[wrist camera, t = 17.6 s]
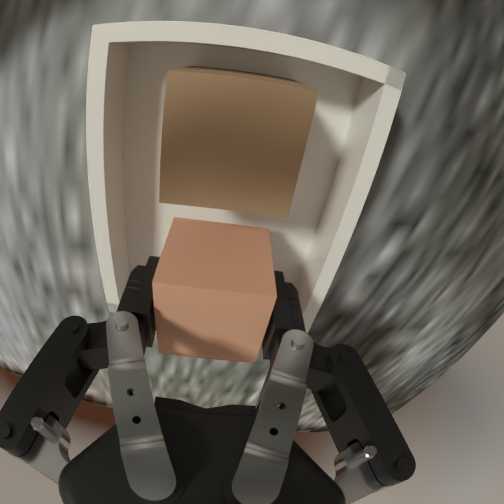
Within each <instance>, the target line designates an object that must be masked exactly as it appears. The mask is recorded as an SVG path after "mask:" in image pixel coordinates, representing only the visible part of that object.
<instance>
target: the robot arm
mask: <svg viewBox="0 0 504 504" xmlns="http://www.w3.org/2000/svg"><path fill="white" fill-rule="evenodd" d="M159 259H160V257H157V256H149V258H148V261H147V264H146V266H142V265H137V266H136V267H135V268H134V269H133V270H132V271H131V273H130V276H129V278H128V281H127V284H126V287H125V289H124V292H123V294H122V297H121V300H120V303H119V305H118V308H117V311H116V312H115V313H113V314H112V315H110V316H109V317H108V319H107V320H106V321H104V322H99V323H89V324H87V322H86V320H85V319H84V318H82V317H80V316H69V317H67V318H65V319H64V320H63V321H62V322H61V323H60V324H59V326H58V327H57V328H56V329H55V331H54V332H53V333H52V335H51V336H50V337H49V339H48V340H47V342H46V343H45V344H44V346H43V347H42V348H41V350H40V351H39V353H38V354H37V355H36V357H35V358H34V360H33V361H32V363H31V364H30V365H29V367H28V368H27V370H26V371H25V373H24V374H23V376H22V377H21V379H20V380H19V382H18V383H17V385H16V387H15V388H14V390H13V391H12V393H11V394H10V396H9V398H8V399H7V401H6V402H5V404H4V406H3V407H2V409H1V411H0V447H1V448H2V449H4V450H6V451H7V452H8V453H9V454H10V455H12V456H14V457H15V458H17V459H19V460H20V461H22V462H24V463H26V464H29V465H30V466H32V467H33V468H34V469H36V470H37V471H39V472H40V473H42V474H43V475H44V476H46V477H47V478H49V479H50V480H52V481H54V482H55V483H57V484H58V485H59V493H60V496H61V498H62V501H63V503H64V504H351V503H353V502H355V501H357V500H359V499H361V498H363V497H365V496H367V495H369V494H371V493H374V492H377V491H380V490H382V489H385V488H388V487H390V486H393V485H395V484H398V483H400V482H403V481H405V480H407V479H409V478H410V477H411V476H412V475H413V473H414V471H415V467H416V463H415V459H414V457H413V455H412V453H411V451H410V449H409V447H408V445H407V443H406V441H405V439H404V438H403V436H402V434H401V432H400V430H399V428H398V426H397V424H396V422H395V420H394V418H393V417H392V414H391V413H390V411H389V409H388V407H387V405H386V403H385V401H384V400H383V398H382V396H381V394H380V392H379V390H378V389H377V387H376V385H375V383H374V381H373V379H372V378H371V376H370V374H369V372H368V370H367V369H366V367H365V365H364V363H363V361H362V360H361V358H360V356H359V354H358V353H357V351H356V350H355V349H354V348H352V347H350V346H348V345H344V344H340V345H337V346H335V347H334V348H333V349H329V348H326V347H323V346H320V345H317V344H316V343H314V342H313V340H312V338H311V337H310V336H309V335H308V334H307V333H306V331H305V325H304V320H303V315H302V310H301V307H300V306H301V305H300V301H299V295H298V291H297V289H296V288H295V286H294V285H293V284H292V283H289V282H285V281H284V275H283V272H282V271H275V270H274V276H275V284H276V292H277V298H276V301H275V304H274V307H273V311H272V314H271V317H270V320H269V323H268V326H267V329H266V332H265V335H264V338H263V341H262V347H263V359H270V368H269V370H268V373H267V376H266V379H265V382H264V385H263V387H262V390H261V393H260V396H259V399H258V401H257V404H256V406H247V405H226V406H220V407H214V408H202V407H199V406H196V405H193V404H190V403H187V402H184V401H181V400H176V399H168V398H161V397H156V398H155V403H154V401H153V396H152V392H151V388H150V383H149V379H148V374H147V370H146V365H145V360H144V354H145V349H146V346H147V347H152V346H153V341H154V336H155V331H156V322H155V312H154V301H153V288H152V281H153V278H154V275H155V271H156V268H157V265H158V262H159ZM103 368H108V375H109V383H110V390H111V397H112V403H113V409H114V414H115V420H116V424H114V425H113V426H112V427H111V428H110V429H109V430H107V431H106V432H105V433H104V434H103V435H101V436H100V437H99V438H98V439H97V440H95V441H94V442H93V443H92V444H91V445H89V446H88V447H87V448H86V449H84V450H83V451H82V452H81V453H80V454H78V455H77V456H76V457H75V458H73V459H72V460H71V461H70V459H69V455H68V450H69V446H70V436H69V434H68V432H67V430H66V428H67V426H68V424H69V422H70V420H71V418H72V417H73V415H74V413H75V411H76V409H77V407H78V406H79V404H80V402H81V400H82V399H83V397H84V395H85V393H86V392H87V390H88V388H89V386H90V385H91V383H92V381H93V380H94V378H95V376H96V375H97V373H98V371H99V369H103ZM307 388H308V389H311V391H312V393H313V396H314V398H315V400H316V402H317V405H318V407H319V409H320V411H321V414H322V416H323V418H324V420H325V423H326V425H327V427H328V429H329V432H330V434H331V436H332V438H333V441H334V443H335V445H336V447H337V450H338V452H339V454H338V455H337V456H336V458H335V461H334V467H335V471H336V476H335V479H334V480H333V479H332V478H330V477H329V476H328V475H327V474H326V473H325V472H324V471H323V470H322V469H321V468H320V467H319V466H318V465H317V464H316V463H315V462H314V461H313V460H312V459H311V458H310V457H309V456H308V455H307V454H306V453H305V452H304V450H303V449H302V448H301V447H300V446H299V445H298V444H297V443H296V442H295V441H294V436H295V432H296V429H297V425H298V421H299V418H300V414H301V410H302V406H303V402H304V398H305V394H306V390H307Z"/></svg>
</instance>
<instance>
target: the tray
mask: <svg viewBox="0 0 504 504" xmlns="http://www.w3.org/2000/svg"><path fill="white" fill-rule="evenodd" d="M187 66H201V67H212V68H222V69H231V70H239V71H246V72H253V73H259V74H265V75H271V76H277V77H282V78H287V79H292V80H295V81H297V82H300V83H302V84H304V85H306V86H308V87H310V88H312V89H314V90H316V91H318V92H319V93H318V98H317V102H316V106H315V110H314V115H313V119H312V123H311V127H310V131H309V135H308V139H307V144H306V148H305V152H304V156H303V160H302V164H301V168H300V172H299V176H298V180H297V184H296V187H295V191H294V195H293V199H292V203H291V207H290V211H289V214H288V218H285V217H278V216H270V215H263V214H255V213H247V212H239V211H231V210H222V209H214V208H205V207H196V206H186V205H177V204H167V203H159V185H160V157H161V138H162V123H163V111H164V99H165V89H166V80H167V71H170V70H174V69H178V68H183V67H187ZM405 77H406V73H405V72H403V71H401V70H398V69H396V68H393V67H391V66H389V65H386V64H384V63H381V62H378V61H376V60H373V59H370V58H368V57H365V56H362V55H359V54H356V53H353V52H350V51H347V50H344V49H341V48H337V47H334V46H331V45H327V44H324V43H320V42H316V41H313V40H309V39H305V38H300V37H296V36H292V35H287V34H282V33H277V32H272V31H267V30H261V29H255V28H248V27H241V26H234V25H225V24H215V23H203V22H186V21H136V22H119V23H107V24H97V25H93V27H92V35H91V43H90V53H89V64H88V78H87V101H86V141H87V165H88V180H89V192H90V203H91V212H92V220H93V228H94V235H95V242H96V248H97V254H98V260H99V266H100V271H101V277H102V282H103V287H104V291H105V296H106V300H107V305H108V309H109V312H114V313H115V312H116V311H117V308H118V305H119V303H120V300H121V297H122V294H123V292H124V289H125V287H126V284H127V281H128V278H129V276H130V273H131V271H132V270H133V269H134V268H135V267H136V266H137V265H142V266H146V264H147V261H148V258H149V256H157V257H160V256H161V253H162V250H163V247H164V244H165V241H166V238H167V236H168V233H169V230H170V227H171V224H172V221H173V219H174V217H178V218H187V219H195V220H204V221H212V222H221V223H229V224H237V225H245V226H253V227H261V228H268V229H269V237H270V244H271V252H272V260H273V268H274V270H275V271H282V272H283V275H284V281H285V282H289V283H292V284H293V285H294V286H295V288H296V289H297V291H298V295H299V301H300V305H301V306H300V307H301V310H302V315H303V320H304V325H305V331H306V333H308V332H309V330H310V327H311V325H312V323H313V321H314V319H315V317H316V315H317V313H318V311H319V309H320V307H321V305H322V302H323V300H324V298H325V296H326V294H327V292H328V289H329V287H330V285H331V283H332V281H333V278H334V276H335V274H336V272H337V269H338V267H339V265H340V262H341V260H342V258H343V255H344V253H345V251H346V248H347V246H348V243H349V241H350V239H351V236H352V234H353V231H354V229H355V226H356V224H357V221H358V219H359V216H360V214H361V211H362V209H363V206H364V203H365V201H366V198H367V195H368V193H369V190H370V187H371V184H372V182H373V179H374V176H375V173H376V171H377V168H378V165H379V162H380V159H381V156H382V153H383V150H384V147H385V144H386V141H387V138H388V135H389V132H390V128H391V125H392V122H393V119H394V115H395V112H396V109H397V105H398V102H399V98H400V95H401V91H402V88H403V84H404V80H405Z"/></svg>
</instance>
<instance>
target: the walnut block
mask: <svg viewBox="0 0 504 504" xmlns="http://www.w3.org/2000/svg"><path fill="white" fill-rule="evenodd" d="M318 93H319V92H318V91H316V90H314V89H312V88H310V87H308V86H306V85H304V84H302V83H300V82H297V81H295V80H292V79H287V78H282V77H277V76H271V75H265V74H259V73H253V72H246V71H239V70H231V69H222V68H212V67H201V66H187V67H183V68H178V69H174V70H170V71H167V80H166V89H165V99H164V111H163V123H162V138H161V157H160V185H159V203H167V204H177V205H186V206H196V207H205V208H214V209H222V210H231V211H239V212H247V213H255V214H263V215H270V216H278V217H285V218H288V214H289V211H290V207H291V203H292V199H293V195H294V191H295V187H296V184H297V180H298V176H299V172H300V168H301V164H302V160H303V156H304V152H305V148H306V144H307V139H308V135H309V131H310V127H311V123H312V119H313V115H314V110H315V106H316V102H317V98H318Z"/></svg>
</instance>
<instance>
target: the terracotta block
mask: <svg viewBox="0 0 504 504" xmlns="http://www.w3.org/2000/svg"><path fill="white" fill-rule="evenodd" d="M152 288H153V301H154V312H155V322H156V331H157V340H158V349H159V353H166V354H173V355H181V356H189V357H198V358H207V359H217V360H228V361H241V362H256V359H257V356H258V353H259V350H260V347H261V344H262V341H263V338H264V335H265V332H266V329H267V326H268V323H269V320H270V317H271V314H272V311H273V307H274V304H275V301H276V298H277V292H276V284H275V276H274V268H273V260H272V252H271V244H270V237H269V229H268V228H261V227H253V226H245V225H237V224H229V223H221V222H212V221H204V220H195V219H187V218H178V217H174V219H173V221H172V224H171V227H170V230H169V233H168V236H167V238H166V241H165V244H164V247H163V250H162V253H161V256H160V259H159V262H158V265H157V268H156V271H155V275H154V278H153V281H152Z"/></svg>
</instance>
